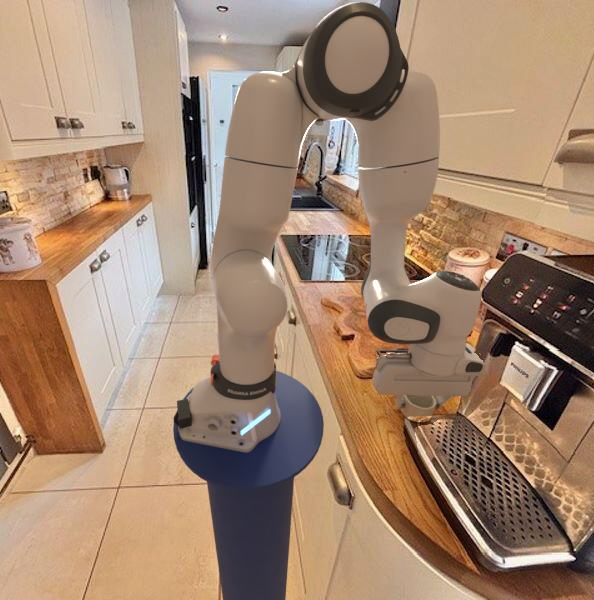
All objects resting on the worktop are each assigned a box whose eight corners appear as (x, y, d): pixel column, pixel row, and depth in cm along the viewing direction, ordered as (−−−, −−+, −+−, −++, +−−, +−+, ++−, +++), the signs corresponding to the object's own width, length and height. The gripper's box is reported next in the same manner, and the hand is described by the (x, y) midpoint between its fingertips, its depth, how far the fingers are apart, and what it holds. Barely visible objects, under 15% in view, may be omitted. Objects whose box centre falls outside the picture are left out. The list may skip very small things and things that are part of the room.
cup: (406, 424, 67) (410, 408, 65) (396, 402, 72) (400, 387, 70) (435, 425, 67) (441, 409, 64) (423, 403, 72) (428, 388, 70)
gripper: (384, 363, 59) (371, 417, 66) (498, 365, 59) (474, 419, 65) (374, 343, 65) (363, 394, 72) (478, 345, 64) (458, 396, 71)
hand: (417, 406), depth 68 cm, fingers closed on cup, 6 cm apart
